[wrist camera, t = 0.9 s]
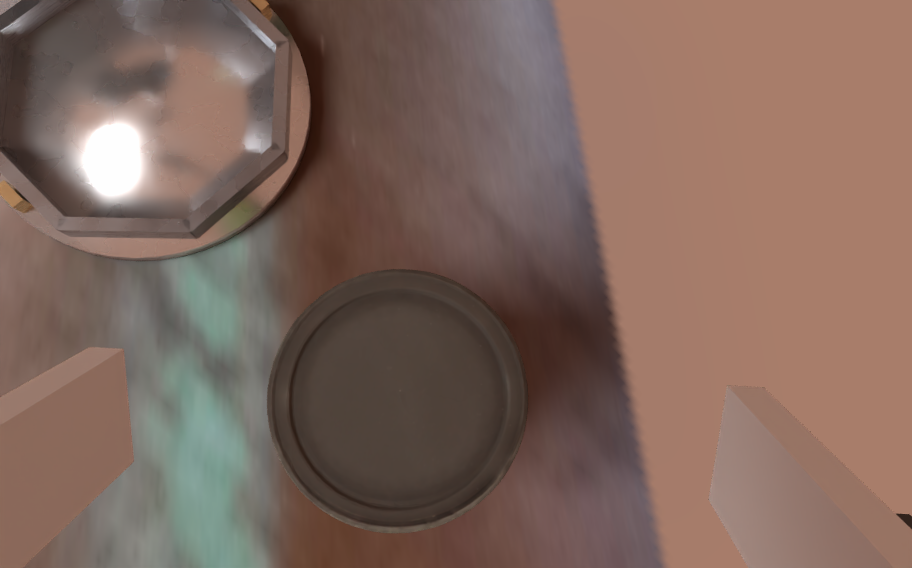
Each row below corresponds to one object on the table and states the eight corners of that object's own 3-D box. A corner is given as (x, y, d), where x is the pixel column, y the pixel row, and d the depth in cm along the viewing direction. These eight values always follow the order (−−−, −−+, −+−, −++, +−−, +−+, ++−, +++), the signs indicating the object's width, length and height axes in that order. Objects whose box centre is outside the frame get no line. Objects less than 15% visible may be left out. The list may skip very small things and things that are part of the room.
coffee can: (273, 392, 38) (209, 387, 24) (402, 281, 40) (411, 218, 26) (387, 523, 37) (388, 594, 24) (512, 403, 39) (580, 404, 26)
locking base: (-90, 99, 39) (-122, 78, 36) (167, -87, 43) (154, -117, 40) (133, 329, 38) (116, 324, 35) (375, 116, 42) (374, 98, 39)
